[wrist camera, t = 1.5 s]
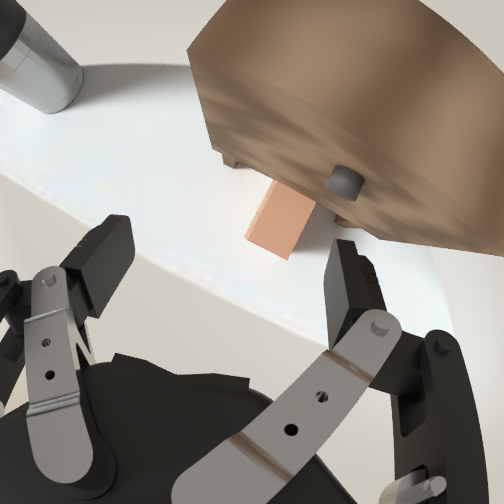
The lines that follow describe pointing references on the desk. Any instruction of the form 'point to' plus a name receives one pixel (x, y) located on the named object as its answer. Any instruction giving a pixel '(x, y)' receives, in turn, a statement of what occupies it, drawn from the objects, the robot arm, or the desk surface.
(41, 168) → the desk surface
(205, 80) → the walnut cabinet
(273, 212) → the terracotta block
